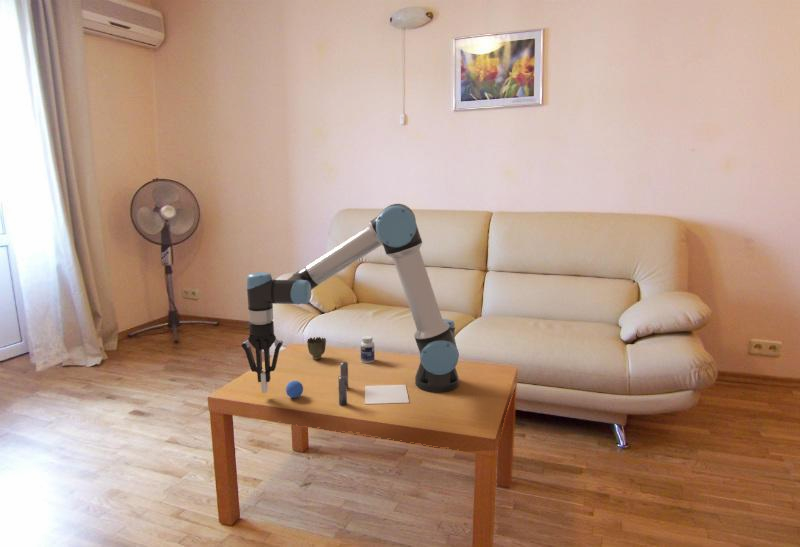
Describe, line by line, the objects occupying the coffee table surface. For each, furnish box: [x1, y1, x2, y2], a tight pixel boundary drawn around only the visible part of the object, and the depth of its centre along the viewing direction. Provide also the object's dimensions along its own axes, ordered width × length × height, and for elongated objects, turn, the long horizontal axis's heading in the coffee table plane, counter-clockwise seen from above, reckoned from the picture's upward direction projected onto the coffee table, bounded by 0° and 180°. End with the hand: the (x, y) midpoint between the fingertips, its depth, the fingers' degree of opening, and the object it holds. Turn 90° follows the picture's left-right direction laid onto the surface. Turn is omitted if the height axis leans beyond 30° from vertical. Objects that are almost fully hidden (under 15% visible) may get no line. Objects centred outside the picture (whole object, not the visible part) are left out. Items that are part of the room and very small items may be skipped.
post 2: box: [337, 375, 348, 406], centre depth 161 cm, size 2×2×9 cm
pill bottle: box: [360, 335, 375, 364], centre depth 199 cm, size 5×5×10 cm
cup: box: [306, 336, 327, 361], centre depth 201 cm, size 8×7×8 cm
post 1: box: [339, 361, 349, 390], centre depth 173 cm, size 2×2×9 cm
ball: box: [285, 380, 304, 399], centre depth 166 cm, size 6×6×6 cm
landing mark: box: [364, 384, 410, 405], centre depth 169 cm, size 14×14×1 cm
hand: (264, 390), depth 166 cm, fingers closed
